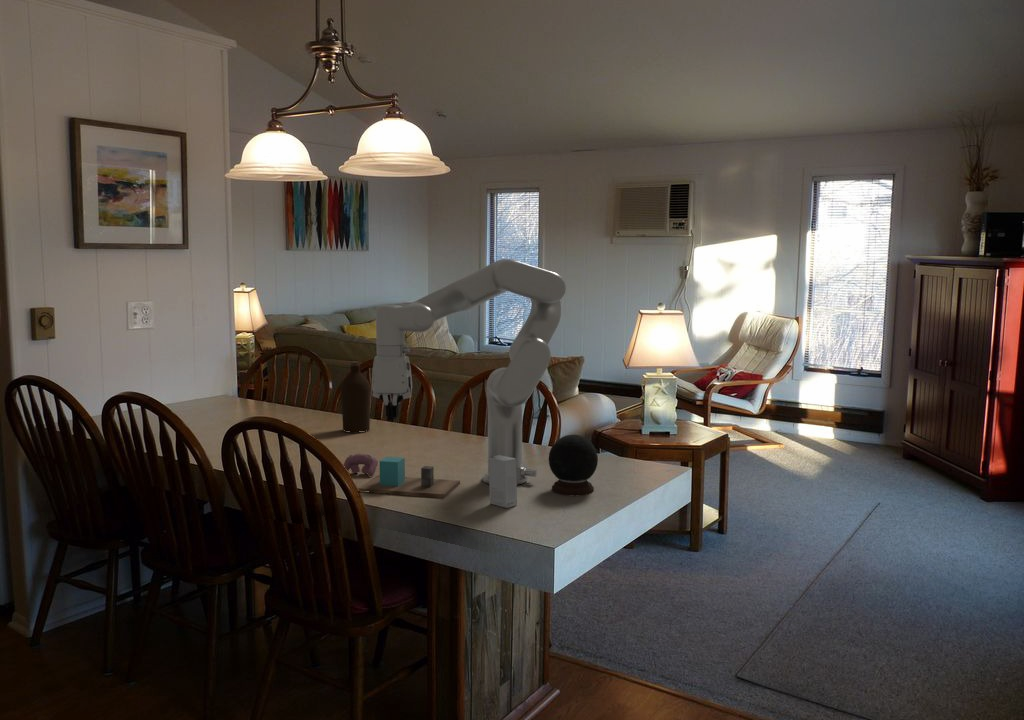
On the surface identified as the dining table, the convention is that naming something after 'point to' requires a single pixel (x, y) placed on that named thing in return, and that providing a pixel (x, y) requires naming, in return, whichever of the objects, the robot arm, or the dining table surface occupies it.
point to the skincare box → (502, 481)
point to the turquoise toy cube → (392, 471)
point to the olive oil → (355, 400)
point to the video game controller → (357, 459)
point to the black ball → (573, 465)
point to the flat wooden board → (415, 485)
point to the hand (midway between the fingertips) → (392, 419)
